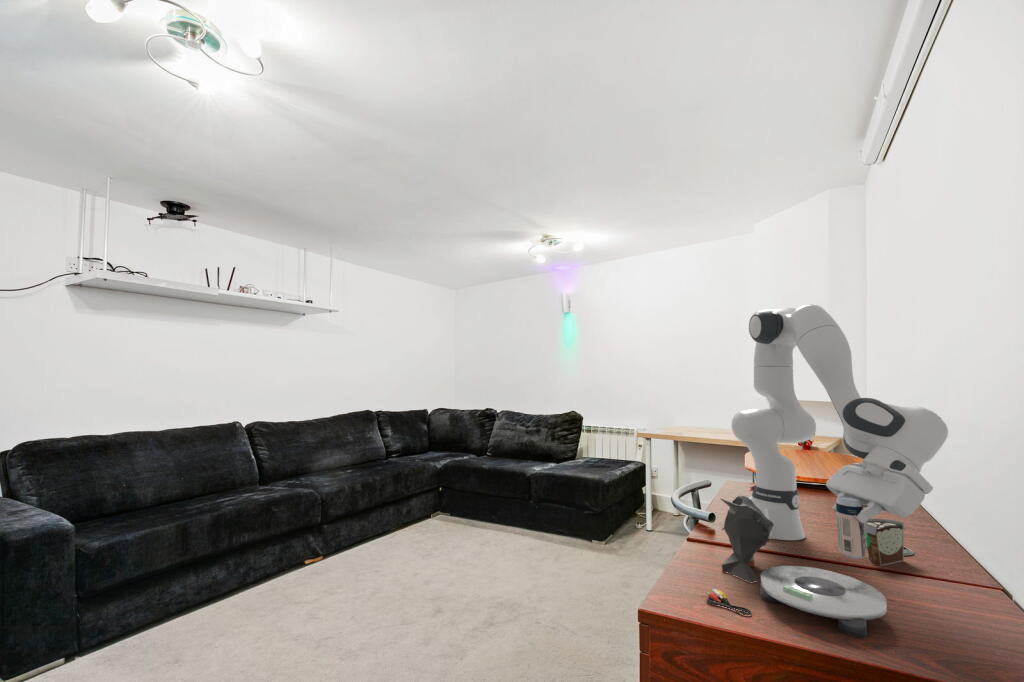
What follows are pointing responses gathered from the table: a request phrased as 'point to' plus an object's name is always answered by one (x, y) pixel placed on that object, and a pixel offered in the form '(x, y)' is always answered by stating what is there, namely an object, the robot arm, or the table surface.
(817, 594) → the round grey plate
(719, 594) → the composite cable
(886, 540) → the food container
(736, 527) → the dark grey angular piece
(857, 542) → the beer can
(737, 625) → the table surface
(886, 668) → the table surface
